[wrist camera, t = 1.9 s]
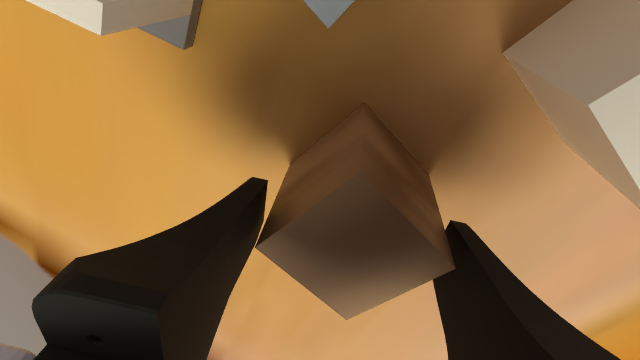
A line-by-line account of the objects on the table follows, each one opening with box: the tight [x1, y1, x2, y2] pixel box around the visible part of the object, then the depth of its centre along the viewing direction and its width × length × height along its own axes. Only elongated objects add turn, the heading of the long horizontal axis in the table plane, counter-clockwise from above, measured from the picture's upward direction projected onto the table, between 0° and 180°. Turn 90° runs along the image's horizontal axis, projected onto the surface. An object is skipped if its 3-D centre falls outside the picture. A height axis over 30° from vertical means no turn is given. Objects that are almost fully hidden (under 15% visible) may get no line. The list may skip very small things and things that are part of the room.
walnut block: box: [255, 103, 456, 320], centre depth 14 cm, size 5×5×6 cm
